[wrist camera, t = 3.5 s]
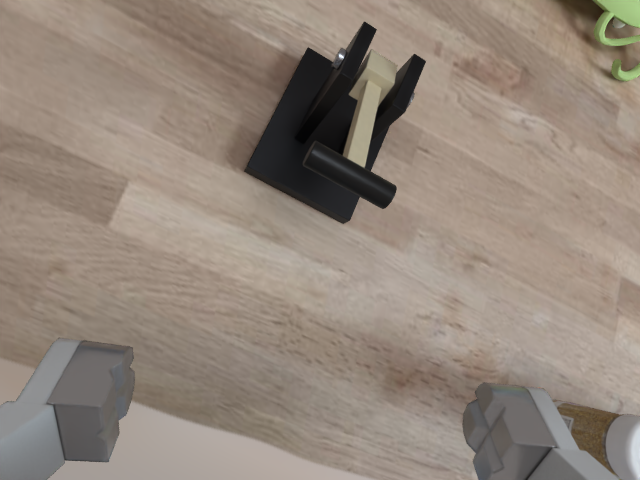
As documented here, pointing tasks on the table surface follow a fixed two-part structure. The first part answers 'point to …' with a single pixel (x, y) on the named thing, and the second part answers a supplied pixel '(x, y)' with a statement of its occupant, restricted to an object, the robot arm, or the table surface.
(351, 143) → the lever
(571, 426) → the sprinkles bottle
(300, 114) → the bracket
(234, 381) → the table surface
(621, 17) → the figurine
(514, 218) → the table surface
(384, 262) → the table surface
